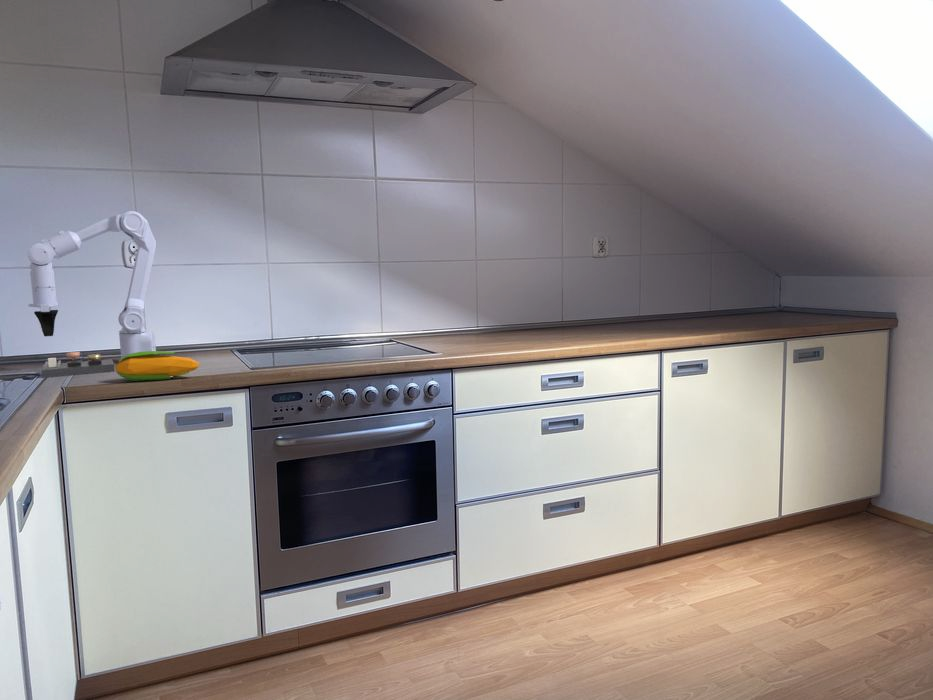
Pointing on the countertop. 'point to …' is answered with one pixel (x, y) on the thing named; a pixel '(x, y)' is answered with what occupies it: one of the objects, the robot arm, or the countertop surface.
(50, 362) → the slider knob
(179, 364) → the corn
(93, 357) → the brass button
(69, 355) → the terracotta button
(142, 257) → the robot arm
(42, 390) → the countertop surface
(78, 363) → the panel
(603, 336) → the countertop surface
